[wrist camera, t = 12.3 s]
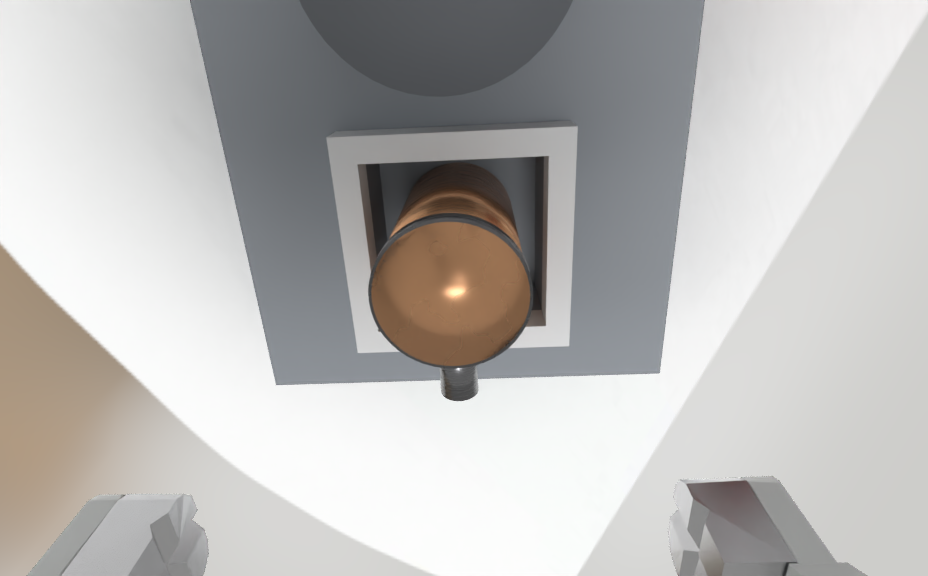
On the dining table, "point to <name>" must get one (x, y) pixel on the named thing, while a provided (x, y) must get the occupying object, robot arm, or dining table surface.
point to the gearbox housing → (456, 140)
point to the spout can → (453, 276)
